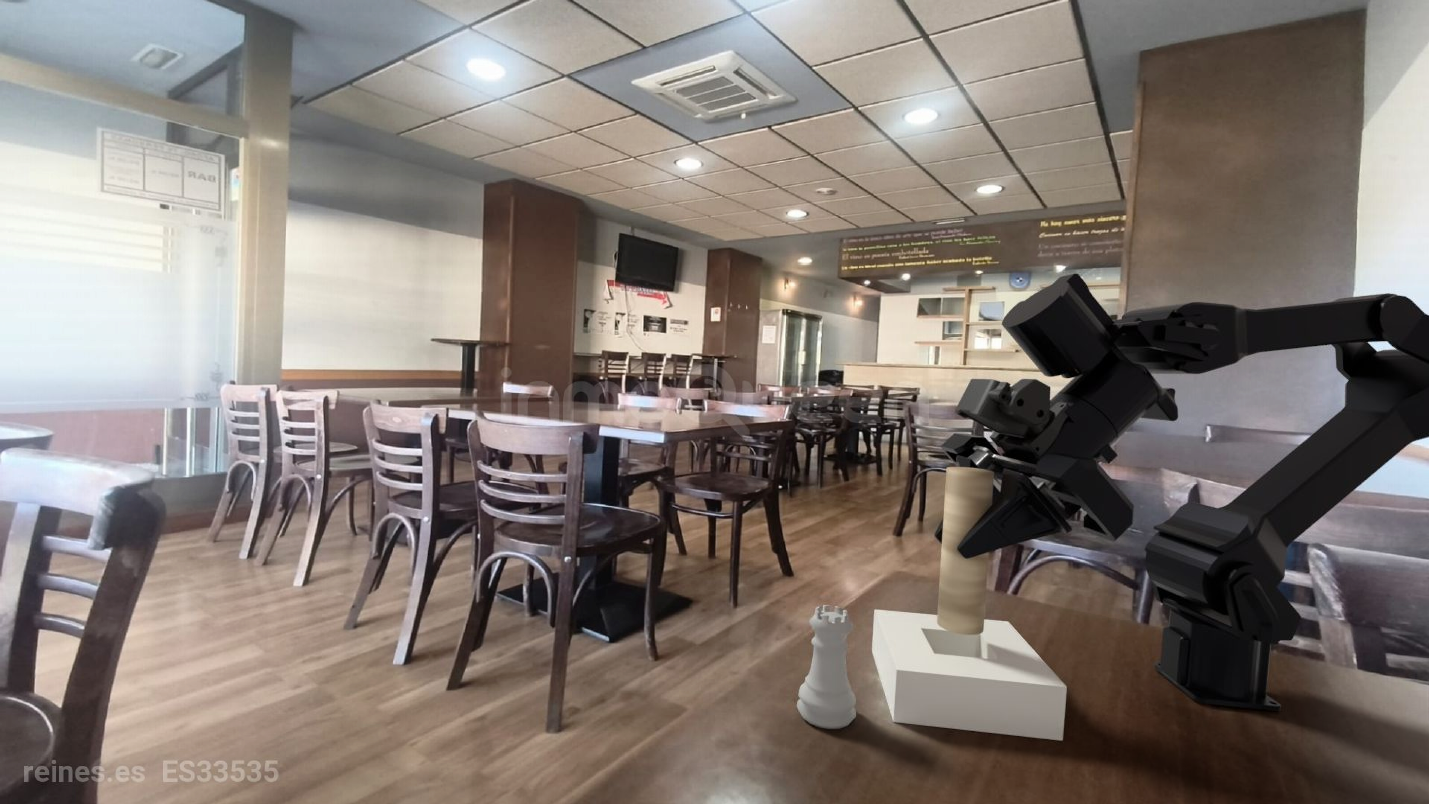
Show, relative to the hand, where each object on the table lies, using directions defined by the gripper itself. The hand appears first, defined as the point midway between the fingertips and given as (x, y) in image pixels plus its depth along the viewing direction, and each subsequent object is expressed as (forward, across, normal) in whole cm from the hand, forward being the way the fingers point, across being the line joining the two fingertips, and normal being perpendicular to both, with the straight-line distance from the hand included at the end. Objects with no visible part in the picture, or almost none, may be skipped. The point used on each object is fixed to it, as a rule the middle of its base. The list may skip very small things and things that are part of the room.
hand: (949, 547), depth 51 cm
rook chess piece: (+16, +4, +1) cm, 17 cm away
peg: (+4, 0, +6) cm, 7 cm away
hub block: (+8, 0, +9) cm, 12 cm away
